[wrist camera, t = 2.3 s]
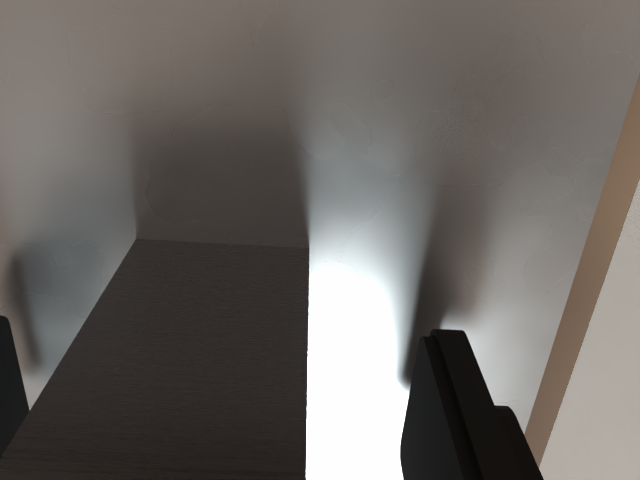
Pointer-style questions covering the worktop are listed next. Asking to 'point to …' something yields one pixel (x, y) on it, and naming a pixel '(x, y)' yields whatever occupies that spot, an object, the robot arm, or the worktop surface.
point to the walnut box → (588, 278)
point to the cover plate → (288, 219)
